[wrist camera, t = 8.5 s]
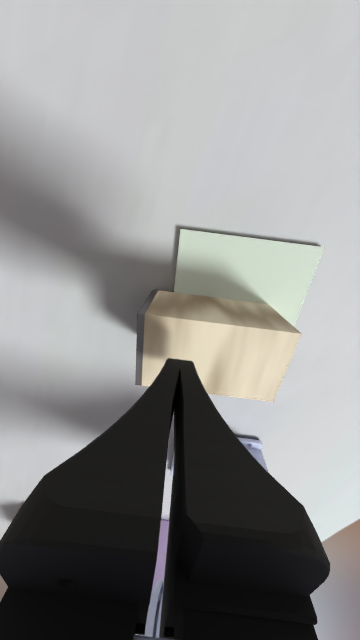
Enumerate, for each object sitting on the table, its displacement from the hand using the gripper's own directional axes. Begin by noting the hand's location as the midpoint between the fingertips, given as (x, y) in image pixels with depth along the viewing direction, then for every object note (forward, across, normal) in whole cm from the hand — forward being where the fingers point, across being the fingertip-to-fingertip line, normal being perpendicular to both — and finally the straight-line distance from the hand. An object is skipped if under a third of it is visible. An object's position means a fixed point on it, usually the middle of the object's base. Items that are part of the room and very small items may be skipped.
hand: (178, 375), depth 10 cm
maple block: (+4, +3, 0) cm, 5 cm away
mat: (+7, -4, 0) cm, 8 cm away
